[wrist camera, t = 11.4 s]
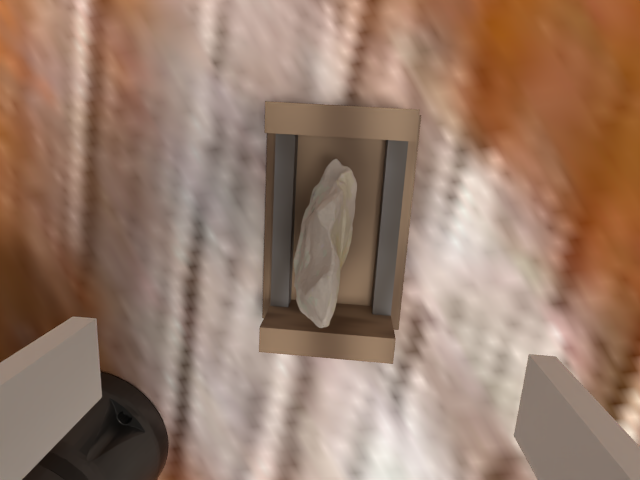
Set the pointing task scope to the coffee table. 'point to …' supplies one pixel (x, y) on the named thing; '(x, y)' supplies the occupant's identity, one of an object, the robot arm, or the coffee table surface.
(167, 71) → the coffee table surface
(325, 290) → the stone tool
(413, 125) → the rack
